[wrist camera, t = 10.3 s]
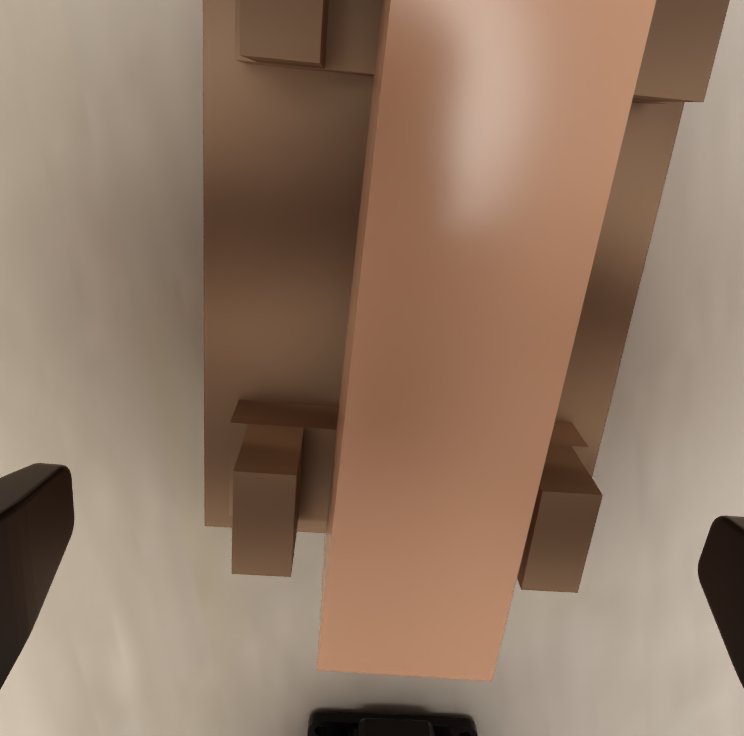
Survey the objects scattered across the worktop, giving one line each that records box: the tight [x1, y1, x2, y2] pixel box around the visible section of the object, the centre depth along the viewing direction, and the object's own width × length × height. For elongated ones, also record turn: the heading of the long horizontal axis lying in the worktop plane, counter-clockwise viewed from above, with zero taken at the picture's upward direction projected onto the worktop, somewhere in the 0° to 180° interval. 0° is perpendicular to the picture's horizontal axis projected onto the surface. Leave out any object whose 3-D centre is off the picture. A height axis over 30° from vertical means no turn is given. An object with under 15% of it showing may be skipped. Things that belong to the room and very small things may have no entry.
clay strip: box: [317, 0, 656, 681], centre depth 14 cm, size 16×4×5 cm, turn 173°
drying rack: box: [203, 0, 730, 593], centre depth 17 cm, size 18×12×5 cm, turn 175°
